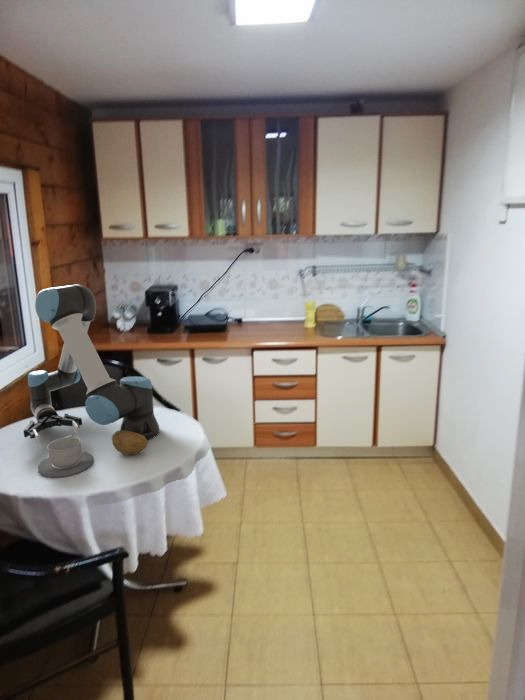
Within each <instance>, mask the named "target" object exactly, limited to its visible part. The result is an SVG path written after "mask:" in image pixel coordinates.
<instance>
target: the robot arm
mask: <svg viewBox="0 0 525 700" xmlns="http://www.w3.org/2000/svg"><path fill="white" fill-rule="evenodd" d="M36 295H37V296H36V299H35V304H34V307H35V312H36V315H37V317H38V318H39V319H40V320H41V321H43V322H45V323H49V325H50V327H51V328H52V329H53V330H56V331H58V333H59V334H60V337H61V338H62V341H63V342H64V343H63V345H62V349H61V354H60V357H59V358H60V359H59V362H58V366H57V369H56V370H54V371H50V372H48V371H47V370H43V369H41V370H40V369H39V370H34V371H31V372H29V373H28V374H27V385H28V390H29V396H30V406H29V407H30V411H31V413H32V415H33V416H34V417H35V419H36V421H34V420H29V424H28V425H27V426H25V428H24V429H23V436H24V438H28V437H29V439H32V440H33V439H35V442H36V443H37V444H38V443H40V437H39V434H38V433H39V432H41V431H43V430H44V431H45V430H46V429H50V428H54V427H62V426H65V427H72V428H73V430H74V432H75V433H76V434H80V426H82V425H83V421H82V420H83V419H82V418H81V417H78V416H75V415H71V414H68V413H64V415H63V416H61V415H59V414H58V412H57V411H56V410H55V408H54V407H53V404H52V396H51V392H53V391H56V390H59V389H62V388H65V387H69V386H71V385H74V384H76V383H78V382H79V381H80V380H81V378H82V380H83V383H84V384H85V386H86V388H87V390H86V393H85V395H86V397H87V398H86V400H85V403H84V405H85V407H84V408H85V411H86V414H87V416H88V417H89V418H90V419H91V420H92V421H93V422H94V423H96V424H98V425H102V426H105V425H109V424H112V423H115V422H117V421H119V420H121V419H122V421H121V425H120V430H119V431H122V430H124V431H130V432H134V433H138V434H140V435H143V436H144V437H145V438H146V440H147V441H148V440H151V439H153V437H154V436H156V435H157V434H158V433H159V434H160V432H159V431H160V425H159V423H158V421H157V418H156V416H155V413H154V412H155V411H154V399H153V387H152V385H153V384H152V381H151V379H149V378H148V377H145V376H126V377H122V378H120V381H119V383H118V381H117V380H116V379H114V378H111V377H110V375H109V373H108V371H107V369H106V368H105V365H104V364H103V362H102V360H101V357H100V356H99V353H98V351H97V350H96V347H95V345H94V344H93V342H92V340H91V338H90V335H89V334H88V331H89V329H90V324H91V322H93V321H94V320H95V317H96V313H97V302H96V298H95V295H94V294H93V292H92V291H91V290H90V289H89V288H87V287H86V286H85V285H81V284H70V285H64V286H63V285H62V286H55V287H48V288H43V289H42V290H40V291H39V292H38V293H37V294H36ZM159 434H158V435H159ZM158 435H157V436H158ZM157 436H156V437H157ZM150 438H151V439H150ZM154 438H155V437H154Z"/></svg>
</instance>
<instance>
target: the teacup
mask: <svg viewBox="0 0 525 700" xmlns="http://www.w3.org/2000/svg"><path fill="white" fill-rule="evenodd" d="M46 450H47V453H48V457H49V458H50V461H51V463H52V464H53V465H54V466H57V467H59V468H68V467H71V466H74V465H75V464H77V463H78V461H79V460H80V459H81V457H82V451H83V447H82V441H81V438H80V437H77V436H73V434H69V435H67V436H64V437H61V438H57V439H54V440H52V441H51V442H49V443H48V444H47V445H46Z"/></svg>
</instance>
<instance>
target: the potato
mask: <svg viewBox="0 0 525 700" xmlns="http://www.w3.org/2000/svg"><path fill="white" fill-rule="evenodd" d="M111 441H112V445H113V447H114V449H115V450H116V451H117V452H119V453H122V454H124V455H126V456H132V455H137V454H141V453H142V452H143V451H144V450H145V449H146V448H147V446H148V440H146V438H145V437H144V436H143V435H140V434H138V433H134V432H130V431H124V430H122V431H120V430H118V431H116V432H114V433H113V434H112V436H111Z"/></svg>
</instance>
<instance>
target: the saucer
mask: <svg viewBox="0 0 525 700" xmlns="http://www.w3.org/2000/svg"><path fill="white" fill-rule="evenodd" d="M94 462H95V460H94V456H93V454H91V453H90V452H87V451H83V450H82V457H81V459H80V460H79V461H78V463H77V464H75V465H74V466H71V467H68V468H59V467H57V466H54V465H53V464H52V463H51V461H50V458H49V456H48V457H46V458H45V459H42V461H41V462H39V464H38V465H37V471H38V473H40V474H41V475H40V474H39V475H40V476H42V475H43V476H42V477H44V476H45V477H46V478H48V477H50V479H60V478H61V479H62V478H69V477H72V476H75V475H79V474H81V473H84V472H86V471H88V469H90V468H91V467H92V466H93V465H94ZM45 477H44V478H45Z"/></svg>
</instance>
